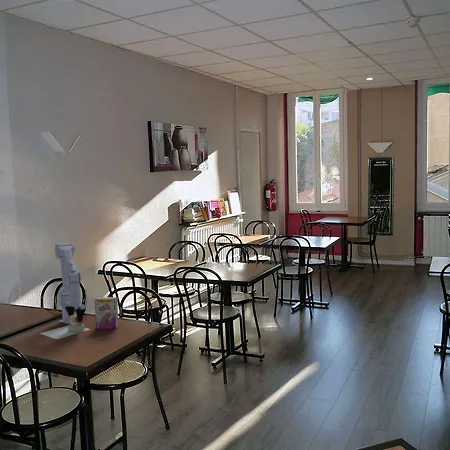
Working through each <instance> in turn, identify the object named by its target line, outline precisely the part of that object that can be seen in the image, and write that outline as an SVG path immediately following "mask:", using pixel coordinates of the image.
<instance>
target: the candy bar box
mask: <svg viewBox="0 0 450 450" xmlns="http://www.w3.org/2000/svg"><path fill="white" fill-rule="evenodd" d="M118 306H119V305H118V297H116V296H110V297H109V296H108V297H107V296H102V297H101V296H96V298H94V313H95V315H94V316H95V317H94V318H95V329H98V330H99V329H100V330H103V329H106V330H107V329H109V330H111V329H112V330H116V329H117V328H119V308H118Z"/></svg>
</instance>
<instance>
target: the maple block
mask: <svg viewBox="0 0 450 450" xmlns="http://www.w3.org/2000/svg"><path fill="white" fill-rule="evenodd" d="M69 318H70V323H69V325H71V326H74V327H75V326H79V325H82V324H83V321H82V322H78V320H77V314H74V315H71V316H69Z"/></svg>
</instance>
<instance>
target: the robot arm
mask: <svg viewBox="0 0 450 450" xmlns="http://www.w3.org/2000/svg"><path fill="white" fill-rule="evenodd" d="M54 253H55V258H56V259H57V260H59V262H60V271H61V272H60V273H61V279H62V280H61V281H62V288H61V290H60V291H59V292H58V293H57V294H58V295H57V296H58V297H57V298H58V305H59V306H60V307H61V314H62V315H61V316H62V317H61V318H62V319H61V320H59V322H60V323H63V324H68V325H69V324H70V318H69V316H71V315H74V314H77V320H78V322H82V323H83V319H84V315H85V312H86V310H87V308H86V307H85V304H83V303H82V302H81V287H80V286H81V285H80V283H81V274H80V271H79V270H78V267H77V265H76V262H74V261H73V257H74V254H75V243H74V242H63V243H62V242H61V243H55V244H54Z"/></svg>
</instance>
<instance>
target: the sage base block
mask: <svg viewBox="0 0 450 450" xmlns="http://www.w3.org/2000/svg"><path fill="white" fill-rule="evenodd" d="M67 326H68V331H71V332H74V333H76V332H80V331H83V330H85V328H86V327H85V326H86V325H85V324H84V323H82V325H79V326H75V327H74V326H71V325H70V324H68V325H67ZM83 332H84V331H83ZM80 333H81V332H80Z"/></svg>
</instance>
